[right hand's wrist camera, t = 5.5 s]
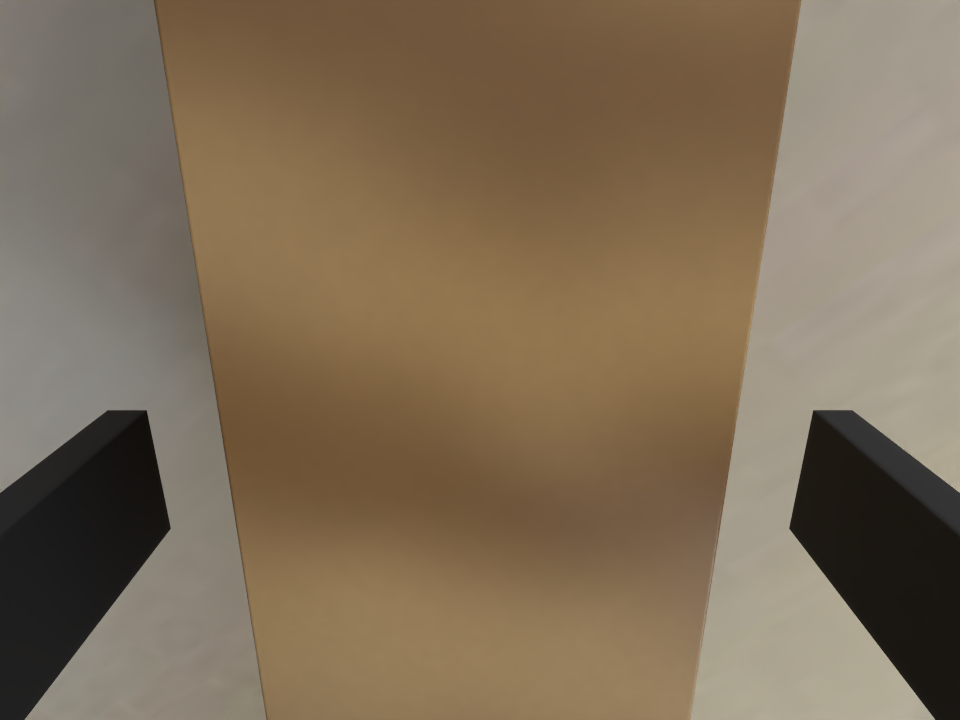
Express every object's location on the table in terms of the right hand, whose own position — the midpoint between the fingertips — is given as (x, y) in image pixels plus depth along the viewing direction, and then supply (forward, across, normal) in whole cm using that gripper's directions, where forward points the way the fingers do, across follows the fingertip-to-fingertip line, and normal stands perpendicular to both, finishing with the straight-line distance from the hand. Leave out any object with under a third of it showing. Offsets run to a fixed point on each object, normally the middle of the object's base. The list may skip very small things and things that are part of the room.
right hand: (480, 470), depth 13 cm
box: (+6, 0, -7) cm, 9 cm away
